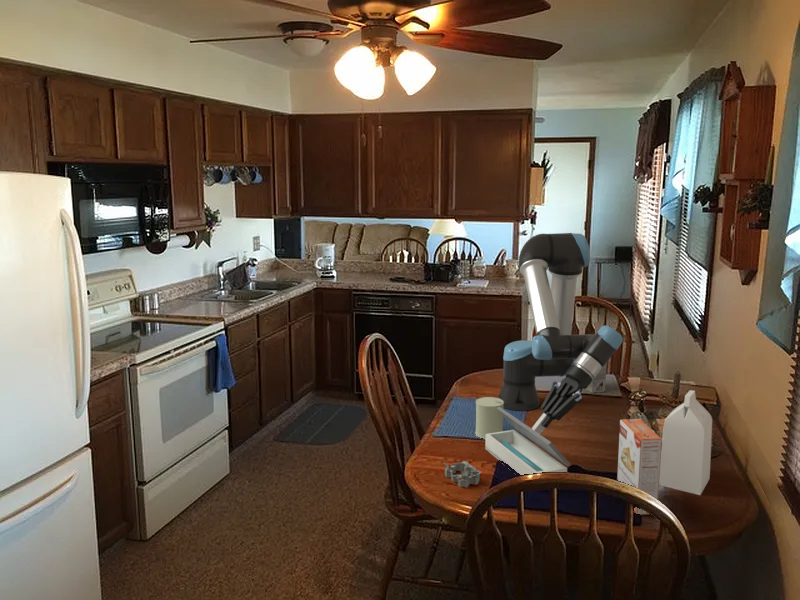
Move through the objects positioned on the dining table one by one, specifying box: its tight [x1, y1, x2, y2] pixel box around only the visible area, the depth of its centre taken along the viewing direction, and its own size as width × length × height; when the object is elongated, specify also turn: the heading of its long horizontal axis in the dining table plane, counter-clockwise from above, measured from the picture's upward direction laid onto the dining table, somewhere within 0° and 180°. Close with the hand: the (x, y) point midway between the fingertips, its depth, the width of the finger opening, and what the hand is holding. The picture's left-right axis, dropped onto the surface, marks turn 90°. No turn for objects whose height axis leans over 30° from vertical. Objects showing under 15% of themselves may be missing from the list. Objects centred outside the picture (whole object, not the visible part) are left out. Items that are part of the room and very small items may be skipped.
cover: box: [497, 407, 571, 467], centre depth 204 cm, size 10×30×1 cm
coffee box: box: [585, 362, 608, 394], centre depth 272 cm, size 9×6×16 cm
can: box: [475, 396, 504, 440], centre depth 227 cm, size 9×9×12 cm
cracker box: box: [616, 418, 662, 516], centre depth 180 cm, size 14×6×21 cm, turn 3°
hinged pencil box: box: [484, 429, 568, 475], centre depth 204 cm, size 10×30×5 cm, turn 20°
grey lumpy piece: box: [442, 460, 482, 488], centre depth 197 cm, size 11×8×4 cm
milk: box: [659, 389, 713, 496], centre depth 192 cm, size 12×12×26 cm
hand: (534, 433), depth 204 cm, fingers closed
